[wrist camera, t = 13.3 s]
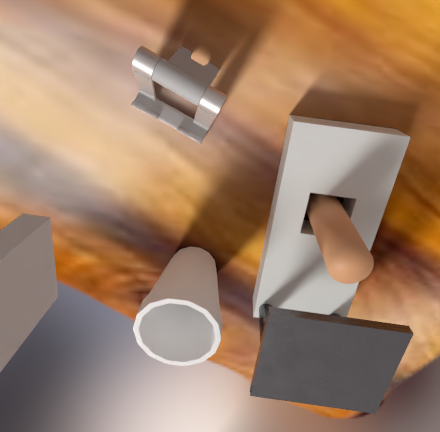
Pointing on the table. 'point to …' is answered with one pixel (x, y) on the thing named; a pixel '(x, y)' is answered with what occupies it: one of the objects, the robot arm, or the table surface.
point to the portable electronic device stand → (177, 90)
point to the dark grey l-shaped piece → (326, 358)
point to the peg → (338, 240)
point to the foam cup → (182, 311)
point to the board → (328, 185)
